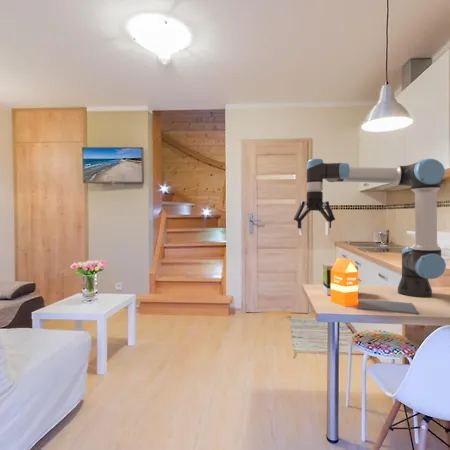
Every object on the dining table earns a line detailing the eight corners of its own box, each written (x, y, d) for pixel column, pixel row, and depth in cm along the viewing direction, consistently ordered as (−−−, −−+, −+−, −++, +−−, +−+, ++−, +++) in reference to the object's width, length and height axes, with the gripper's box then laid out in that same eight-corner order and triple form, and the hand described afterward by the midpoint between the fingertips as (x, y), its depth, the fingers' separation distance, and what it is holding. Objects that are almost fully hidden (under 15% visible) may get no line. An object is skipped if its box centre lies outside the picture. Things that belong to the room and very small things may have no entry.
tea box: (352, 291, 174) (352, 263, 174) (358, 296, 164) (358, 266, 164) (322, 291, 175) (323, 262, 175) (326, 295, 165) (326, 265, 165)
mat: (411, 304, 148) (411, 303, 148) (418, 314, 134) (418, 312, 134) (358, 300, 156) (358, 298, 156) (358, 308, 141) (358, 307, 141)
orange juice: (344, 306, 145) (344, 260, 145) (330, 301, 154) (330, 258, 153) (358, 304, 149) (358, 259, 148) (343, 299, 157) (343, 257, 156)
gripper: (334, 192, 169) (334, 234, 170) (287, 191, 165) (287, 234, 166) (342, 191, 162) (342, 235, 162) (292, 190, 158) (292, 235, 158)
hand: (314, 235), depth 164 cm, fingers open, 13 cm apart
